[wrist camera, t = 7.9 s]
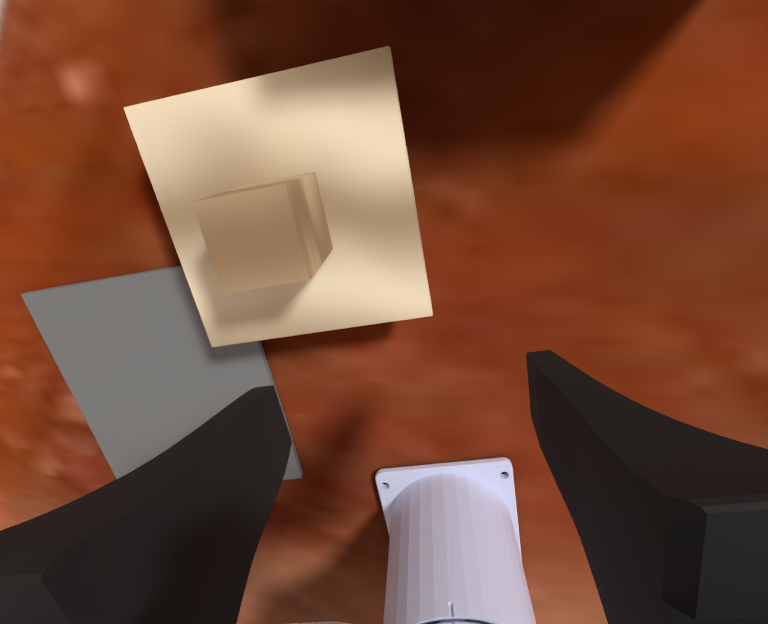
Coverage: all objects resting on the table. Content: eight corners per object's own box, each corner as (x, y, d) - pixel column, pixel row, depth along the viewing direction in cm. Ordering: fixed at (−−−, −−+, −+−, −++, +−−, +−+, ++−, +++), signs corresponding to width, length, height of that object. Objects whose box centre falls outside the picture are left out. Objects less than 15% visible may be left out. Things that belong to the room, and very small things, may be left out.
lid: (432, 308, 19) (435, 361, 15) (219, 339, 21) (164, 396, 16) (390, 49, 16) (378, 17, 11) (136, 108, 17) (36, 100, 13)
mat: (303, 473, 27) (301, 478, 27) (128, 490, 29) (125, 495, 29) (233, 256, 22) (230, 258, 22) (26, 292, 24) (20, 294, 24)
